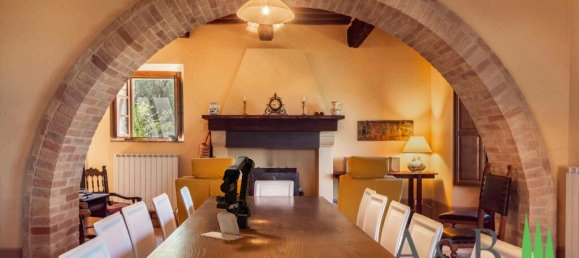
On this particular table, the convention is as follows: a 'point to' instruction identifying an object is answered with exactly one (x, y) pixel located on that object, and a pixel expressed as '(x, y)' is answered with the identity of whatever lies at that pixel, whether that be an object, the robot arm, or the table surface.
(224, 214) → the photo printer
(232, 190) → the robot arm
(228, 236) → the beige flat sheet
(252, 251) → the table surface
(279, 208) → the table surface
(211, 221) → the table surface
